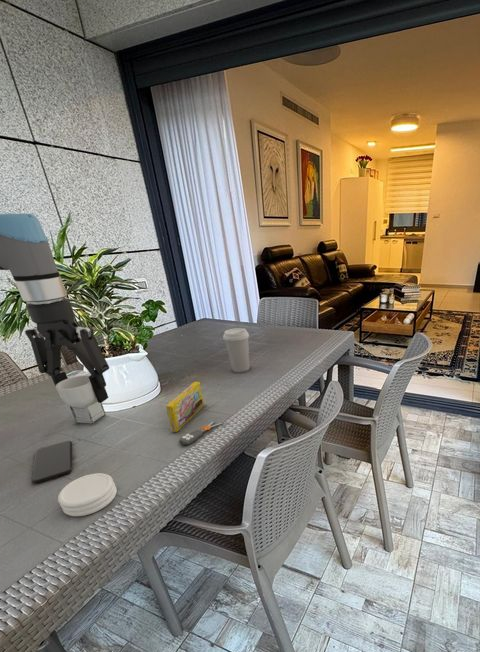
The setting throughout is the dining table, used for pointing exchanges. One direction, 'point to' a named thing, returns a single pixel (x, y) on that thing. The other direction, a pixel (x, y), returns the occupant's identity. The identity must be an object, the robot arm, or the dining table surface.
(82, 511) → the coaster
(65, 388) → the teacup
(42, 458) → the smartphone
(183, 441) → the key chain
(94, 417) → the syrup box
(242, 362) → the coffee cup
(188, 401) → the candy box
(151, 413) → the dining table surface
